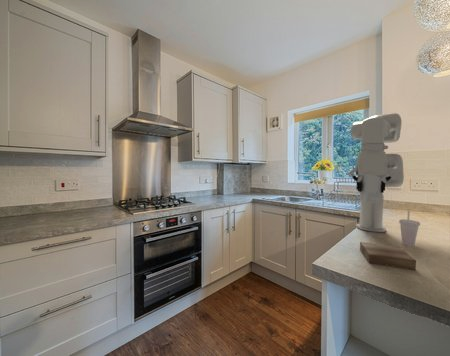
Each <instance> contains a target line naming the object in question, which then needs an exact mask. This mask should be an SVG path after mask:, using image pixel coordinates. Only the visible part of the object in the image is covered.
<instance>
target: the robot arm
mask: <svg viewBox="0 0 450 356" xmlns="http://www.w3.org/2000/svg"><path fill="white" fill-rule="evenodd" d="M401 130H402V117H401V116H400V114H398V113H396V112H392V113H384V114H378V115H377V114H376V115H372V116H370V117H369V118H366V119H363V120H358V121H355V122H354V123H353V124H352V125H351V127H350V137H351V138H352V139H353V140H357V141H358V140H360V141H361V142H360V143H361V144H360V149H361V151H360V152H358V154H357V157H356V165H355V167H354V168H353V169H351V170H350V171H348V175H349V177H351V178H352V179H353V180H354V181H355V182H356V187H355V189H356V190H357V191H358V193H360V192H361V191H362V183H361V180H362V178H363V177H364V176H365V173H374V175H375V176H380V177H381V201H380V202H362V201H360V205H359V206H360V207H359V223H356V224H355V226H356V228H357V229H359V230H363V231H367V232H372V233H373V232H374V233H385V232H386V231H387V228H386V227H384V226H383V218H384V217H383V216H384V201H385V198H384V193H385V190H386V188H399V187H401V186H402V185H403V183H404V179H405V178H404V177H405V175H404V174H405V173H404V162H403V161H404V160H403V158H402V156H401V155H400V154H398V153H386V151H385V150H388V148H389V145H386V144H389V143H396V142H398V141H399V139H400V137H401ZM354 173H355V174H354Z"/></svg>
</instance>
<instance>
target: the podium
mask: <svg viewBox="0 0 450 356" xmlns="http://www.w3.org/2000/svg"><path fill="white" fill-rule="evenodd" d="M359 251H361V253H362V255H363V256H364V258H365V259H366V260H367V262H368V263H369V264H372V265H379V266H385V267H392V268H399V269H406V270H413V271H416V268H417V260H416V259H415V258H413V257H412V256H411V255H410V254H409V253H407V252H406V251H405V250H404V249H403V248H402V247H400V246H397V245H389V244H388V245H387V244H380V243H373V242H365V241H364V242H362V241H360V245H359Z"/></svg>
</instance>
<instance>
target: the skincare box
mask: <svg viewBox="0 0 450 356" xmlns="http://www.w3.org/2000/svg"><path fill="white" fill-rule="evenodd" d="M361 183H362V191H361V192H359V201H360V202H361V201H362V202H380V201H381V177H380V176H375V175H374V173H365V176H364V177H363V178H362V180H361Z"/></svg>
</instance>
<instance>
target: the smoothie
mask: <svg viewBox="0 0 450 356" xmlns="http://www.w3.org/2000/svg"><path fill="white" fill-rule="evenodd" d="M406 218H407V219H404V218H402V219H399V222H398V223H399V227H400V233H401V235H400V236H401V242H402V245H404V246H407V245H408V247H415V244H416V240H417V235H418V231H419V227H420V226H421V222H419V221H416V220H412V219H410V210H407V217H406Z"/></svg>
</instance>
